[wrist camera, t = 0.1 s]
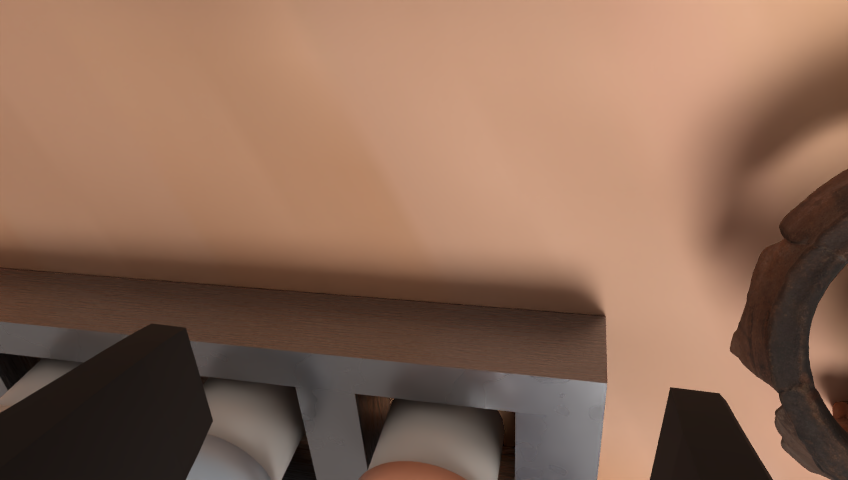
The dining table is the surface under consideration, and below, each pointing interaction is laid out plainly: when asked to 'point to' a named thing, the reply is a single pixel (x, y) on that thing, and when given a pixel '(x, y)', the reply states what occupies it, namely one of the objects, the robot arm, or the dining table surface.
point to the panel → (341, 360)
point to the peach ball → (437, 443)
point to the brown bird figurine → (799, 326)
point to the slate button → (248, 431)
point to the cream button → (36, 380)
